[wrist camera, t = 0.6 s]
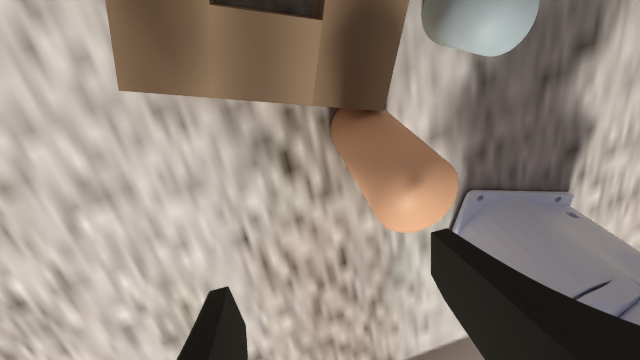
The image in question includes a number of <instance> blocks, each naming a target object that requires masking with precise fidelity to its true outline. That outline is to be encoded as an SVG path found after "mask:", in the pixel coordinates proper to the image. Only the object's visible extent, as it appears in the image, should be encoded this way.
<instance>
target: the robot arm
mask: <svg viewBox="0 0 640 360" xmlns="http://www.w3.org/2000/svg"><path fill="white" fill-rule="evenodd" d="M479 196H480V197H479ZM478 197H479V198H478ZM573 199H574V195H573V194H572V193H570V192H549V191H501V190H471V191H469V192H468V193H467V194H466V196H465V199H464V201H463V204H462V206H461V209H460V211H459V214H458V217H457V219H456V222H455V224H454V227H453V229H452V231H451V230H449V229H448V228H446V229H443V230H439V231H435V232H431V275H432V277H433V279H434V281H435V283H436V285H437V287H438V289H439V290H440V292H441V294H442V296H443V298H444V300H445V301H446V303H447V304H448V306H449V307H450V309H451V310H452V312H453V313H454V315H455V316H456V318H457V319H458V321H459V322H460V324H461V325H462V327H463V328H464V329H465V331H466V332H467V334H468V335H469V337H470V338H471V340H472V341H473V343H474V344H475V345H476V347H477V348H478V350H479V351H480V353H481V354H482V356H483V357H484V359H485V360H640V252H639V251H638V250H636V249H635V248H633V247H632V246H630V245H628V244H627V243H625V242H624V241H622V240H621V239H619V238H618V237H616V236H615V235H613V234H612V233H610V232H609V231H607V230H606V229H604V228H603V227H601V226H599V225H598V224H596V223H595V222H593V221H592V220H590V219H589V218H587V217H586V216H584V215H583V214H581V213H580V212H578V211H577V210H575V209H573V208H572V207H570V205H571V203H572V201H573ZM247 358H248V354H247V338H246V325H245V323H244V320H243V318H242V316H241V314H240V311H239V309H238V307H237V305H236V303H235V300H234V298H233V296H232V294H231V291H230V289H229V287H224V288H220V289H217V290H213V291H210V292H209V294H208V296H207V298H206V300H205V302H204V305H203V307H202V309H201V311H200V313H199V316H198V318H197V320H196V322H195V324H194V326H193V328H192V330H191V332H190V334H189V336H188V338H187V340H186V342H185V344H184V346H183V348H182V350H181V352H180V354H179V356H178V358H177V360H247Z"/></svg>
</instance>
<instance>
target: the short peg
mask: <svg viewBox="0 0 640 360" xmlns="http://www.w3.org/2000/svg"><path fill="white" fill-rule="evenodd" d="M539 2H540V0H424V3H423V7H422V24H423V28H424V30H425V32H426V34H427V36H428V37H429V38H430V39H431V40H432V41H434V42H435V43H437V44H440V45H444V46H448V47H452V48H456V49H460V50H463V51H467V52H471V53H475V54H479V55H483V56H490V57H492V56H498V55H501V54H504V53H506V52H508V51H510V50H511V49H513V48H514V47H515V46H517V45H518V44H519V43H520V42H521V41H522V40H523V39H524V37H525V36H526V35H527V34H528V32H529V31H530V29H531V27H532V25H533V23H534V21H535V19H536V16H537V13H538V9H539Z"/></svg>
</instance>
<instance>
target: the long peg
mask: <svg viewBox="0 0 640 360" xmlns="http://www.w3.org/2000/svg"><path fill="white" fill-rule="evenodd" d="M330 135H331V139H332V141H333V143H334V145H335V147H336V148H337V150H338V152H339V153H340V155H341V157H342V159H343V160H344V162H345V164H346V165H347V167H348V169H349V170H350V172H351V174H352V176H353V177H354V179H355V181H356V182H357V184H358V186H359V187H360V189H361V191H362V193H363V194H364V196H365V198H366V199H367V201H368V203H369V204H370V206H371V208H372V210H373V211H374V213H375V215H376V216H377V218H378V220H379V221H380V222H381V223H382V224H383V225H384V226H385V227H386V228H388V229H390V230H393V231H396V232H402V233H408V232H415V231H419V230H422V229H425V228H427V227H429V226H431V225H433V224H434V223H436V222H437V221H438V220H440V219H441V218H442V217H443V216H444V215H445V214H446V213H447V212H448V211H449V209H450V208H451V207H452V205H453V203H454V201H455V199H456V196H457V193H458V188H459V181H458V176H457V173H456V171H455V169H454V168H453V166H452V165H451V164H450V163H449V162H447V161H446V160H445V159H444V158H442V157H441V156H440V155H439V154H438V153H436V152H435V151H434V150H433V149H432V148H430V147H429V146H428V145H427V144H426V143H424V142H423V141H422V140H421V139H420V138H418V137H417V136H416V135H415V134H414V133H412V132H411V131H410V130H409V129H408V128H406V127H405V126H404V125H403V124H402V123H400V122H399V121H398V120H397V119H396V118H394V117H393V116H392V115H391V114H389V113H388V112H387V111H386V110H385V109H384V111H374V110H362V109H349V108H340V109H339V110H338V111H337V112H336V114H335V115H334V117H333V119H332V122H331V126H330Z"/></svg>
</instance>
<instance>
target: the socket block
mask: <svg viewBox="0 0 640 360" xmlns="http://www.w3.org/2000/svg"><path fill="white" fill-rule="evenodd" d="M408 3H409V0H313V1H312V10H311V16H304V15H297V14H290V13H283V12H276V11H269V10H262V9H255V8H248V7H240V6H233V5H226V4H219V3H215V0H106V7H107V14H108V20H109V27H110V34H111V41H112V48H113V54H114V61H115V68H116V75H117V82H118V88H119V91H132V92H145V93H157V94H170V95H183V96H196V97H208V98H221V99H234V100H247V101H260V102H272V103H285V104H298V105H311V106H323V107H336V108H349V109H362V110H374V111H384V109H385V104H386V100H387V96H388V91H389V87H390V82H391V78H392V74H393V69H394V65H395V60H396V56H397V51H398V47H399V43H400V38H401V34H402V29H403V25H404V21H405V16H406V12H407V7H408Z"/></svg>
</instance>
